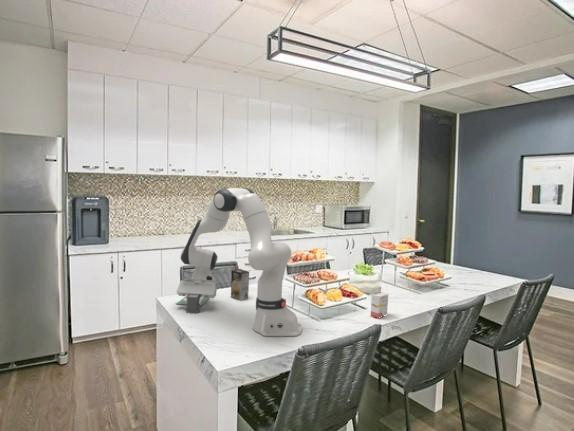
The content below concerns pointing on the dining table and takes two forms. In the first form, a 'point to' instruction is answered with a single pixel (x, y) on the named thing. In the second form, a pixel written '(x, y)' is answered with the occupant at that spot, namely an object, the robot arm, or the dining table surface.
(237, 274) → the coffee box
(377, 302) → the ink cartridge box
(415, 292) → the dining table surface
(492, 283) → the dining table surface
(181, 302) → the board
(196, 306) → the plug
